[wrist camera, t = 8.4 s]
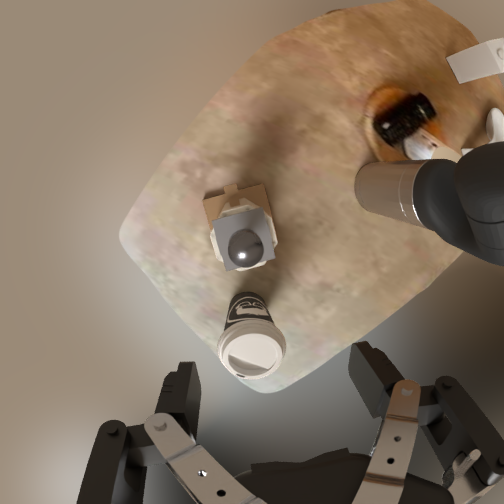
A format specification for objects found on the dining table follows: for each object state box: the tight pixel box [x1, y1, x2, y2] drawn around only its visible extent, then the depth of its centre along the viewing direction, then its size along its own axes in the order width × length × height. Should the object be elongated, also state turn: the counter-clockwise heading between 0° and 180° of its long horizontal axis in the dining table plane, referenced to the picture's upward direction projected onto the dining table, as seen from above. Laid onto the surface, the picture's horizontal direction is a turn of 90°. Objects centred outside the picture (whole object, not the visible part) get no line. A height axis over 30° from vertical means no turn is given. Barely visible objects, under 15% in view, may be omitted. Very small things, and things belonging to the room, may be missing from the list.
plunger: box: [228, 229, 264, 268], centre depth 32 cm, size 5×5×14 cm
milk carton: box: [446, 38, 504, 84], centre depth 28 cm, size 7×7×19 cm
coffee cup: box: [217, 292, 286, 379], centre depth 41 cm, size 10×10×15 cm
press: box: [202, 183, 279, 271], centre depth 37 cm, size 10×11×15 cm
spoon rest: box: [461, 108, 504, 156], centre depth 39 cm, size 24×12×7 cm, turn 127°
